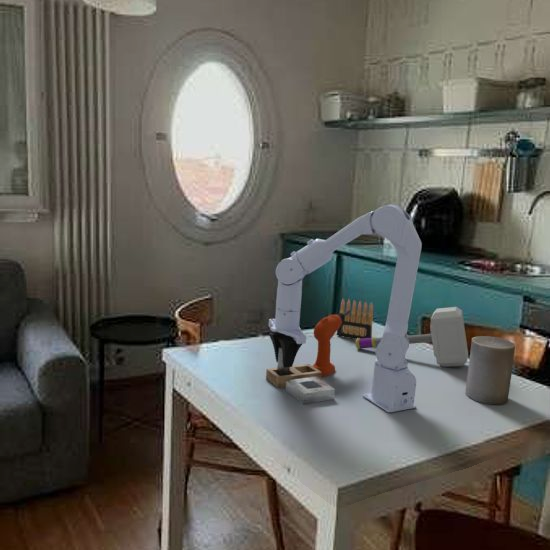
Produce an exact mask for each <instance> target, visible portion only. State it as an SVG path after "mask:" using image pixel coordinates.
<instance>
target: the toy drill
mask: <svg viewBox="0 0 550 550" xmlns="http://www.w3.org/2000/svg"><path fill="white" fill-rule="evenodd" d="M349 313H350V314H351V309H350V310H347V311H346V310H345V312H344V313H343V314H342V313H340V312H339V313H336V314H329V315H328V316H326V317H323V318H321V319H320V320H319V321H318V322H317V324H316V325H314V326H315V327H314V329H313V336H314V338H315V339H316V341H317V355H316V358H315V359H316V360H315V362H314V363H313V364H312V366H313V367H315V368H316V369H318V370H319V371H321V372H322V377H326V376H329V374H330V375H332V374H333V373H334V372H335V370H336V366H335V365H334V364H333V363H332V362H331V339H333V337H334V335H335V334H337V330H338V329H339V328H340V326H341V324H342V322H343V321H344V320H345V316H346V315H348V314H349ZM331 373H332V374H331Z"/></svg>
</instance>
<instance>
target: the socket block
mask: <svg viewBox="0 0 550 550" xmlns="http://www.w3.org/2000/svg"><path fill="white" fill-rule="evenodd" d="M285 391H286V392H287V391H288V392H289V394H290V395H291V396H292V395H293V398H295V399H296V398H297V401H299V403H301V404H303V405H305V404H306V403H307V404H312V402H313V403H317V402H324V401H325V402H326V401H329V400H335V392H336V389H335V388H334V387H333V386H331V385H330V384H328V383H327V382H325V381H323V380H322V379H321V380H320V379H319V378H317V377H309V378H301V379H294V380H287V381H286V387H285ZM288 392H287V393H288Z"/></svg>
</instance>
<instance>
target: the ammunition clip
mask: <svg viewBox="0 0 550 550" xmlns="http://www.w3.org/2000/svg"><path fill="white" fill-rule="evenodd" d="M345 307H346V308H345ZM368 307H369V308H368ZM339 308H340V310H339V313H342V314H343V313H344V312H346V311H347V310H350V313H349V314H348V315H346V316H345V320H344V321H343V322H342V324H341V326H340V328H339V329H338V330H337V331H336V335H339V336H338V337H340V336H344V337H343V338H346V337H350V338H349V339H352V338H356V339H357V338H360V339H363V338H372V337H373V336H372V335H373V319H374V304H373V302H372V301H371V302H370V303H369V306H368V303H367V301H364V304H363V305H362V300H359V302H358V305H357V301H356V300H355V299H354V300H353V302H352V306H351V299H349V298H348V300H347V302H345V298H342V299H341V303H340V307H339ZM362 309H363V310H362ZM356 339H355V340H356Z"/></svg>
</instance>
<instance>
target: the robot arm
mask: <svg viewBox="0 0 550 550" xmlns="http://www.w3.org/2000/svg"><path fill="white" fill-rule="evenodd" d="M375 233H377V234H379V235H380V236H381V237H383V238H385V239H386V240H388V241H389V243H391V244H392V245H393V247H394V248H395V249H396V250H397V258H396V262H395V263H396V264H395V269H394V274H393V280H392V286H391V293H390V298H389V304H388V310H387V317H386V321H385V326H384V330H383V332H382V336H381V337H382V339H381V342H380V343H379V344H378V346H377V347H375V358H374V366H373V373H372V374H373V377H372V385H371V392H368V393H364V394H363V395H362V397H363V398H365V399H367V401H369V402H371V403H373V404H374V405H376V406H378V407H379V408H380V409H382V410H384V411H386V412H387V413H395V412H401V411H405V410H410V409H416V408H417V404H415V397H416V389H417V378H416V376H415V374H413V373H412V372H411V371H410V369H409V366H408V365H409V364H408V363H409V362H408V361H407V358H406V353H407V352H408V350H409V348H410V347H409V346H410V344H409V340H408V337H407V336H408V329H409V325H408V324H409V318H410V313H411V308H412V301H413V296H414V291H415V285H416V281H417V280H416V279H417V274H418V268H419V262H420V258H421V254H422V253H421V252H422V245H423V243H422V240H421V239H420V237H419V234H418V232H417V230H416V227H415V226H414V223H413V220H412V217H411V215H410V214H409V213H408V212H407V211H406V210H405V209H404V208H403V207H402V206H400V205H398V204H395V203H389V204H387V205H386V204H385V205H383V206H380V207H378V208H377V209H376V210H373V211H371V212H367V213H366V214H364V215H363V214H362V215H361V216H359V217H357V218H356V219H354V220H353V221H352V222H350V223H349V224H347V225H346V226H344V227H343V228H342V229H340V230H338V231H337V232H336V233H334V234H332V235H331V236H330V237H328V238H327V239H321V238H316V239H313V238H312V239H310V240H308V241H307V242H306V244H307V245H305V246H304V247H302V248H301V249H299V250H297V251H292V252H291V253H290V257H288V258H284V259H281V261H279V263H278V264H277V266H276V267H275V277H276V279H277V280H278V281H277V290H276V301H275V302H276V304H275V305H276V306H275V318H269V319H268V327H269V328H270V329H269V330H270V331H271V332H269V333H268V336H269V338H270V340H271V342H272V346H273V351H274V355H275V361H276V363H278V353H279V346H281V347H282V354H283V367H292V366H294V365H293V364H294V362H295V359H296V357H297V354H298V352H299V350H300V348H301V347H302V345H303V344H306V343H307V334H305V333H304V332H303V331H302V329H301V327H300V321H301V320H300V318H301V307H302V306H301V305H302V293H303V290H302V289H303V288H302V287H303V279H304V278H305V276H306V275H309V274H311V273H313V272H314V271H316V270H317V269H319V268H321V267H323V266H324V265H325V264H327V263H328V262H330V261H331V260H332V257H333V253H334V252H335V251H337V250H338V249H340V248H341V247H343V246H345V245H346V244H348V243H350V242H351V241H353V240H355V239H357V238H358V237H360V236H362V235H374V234H375Z"/></svg>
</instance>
